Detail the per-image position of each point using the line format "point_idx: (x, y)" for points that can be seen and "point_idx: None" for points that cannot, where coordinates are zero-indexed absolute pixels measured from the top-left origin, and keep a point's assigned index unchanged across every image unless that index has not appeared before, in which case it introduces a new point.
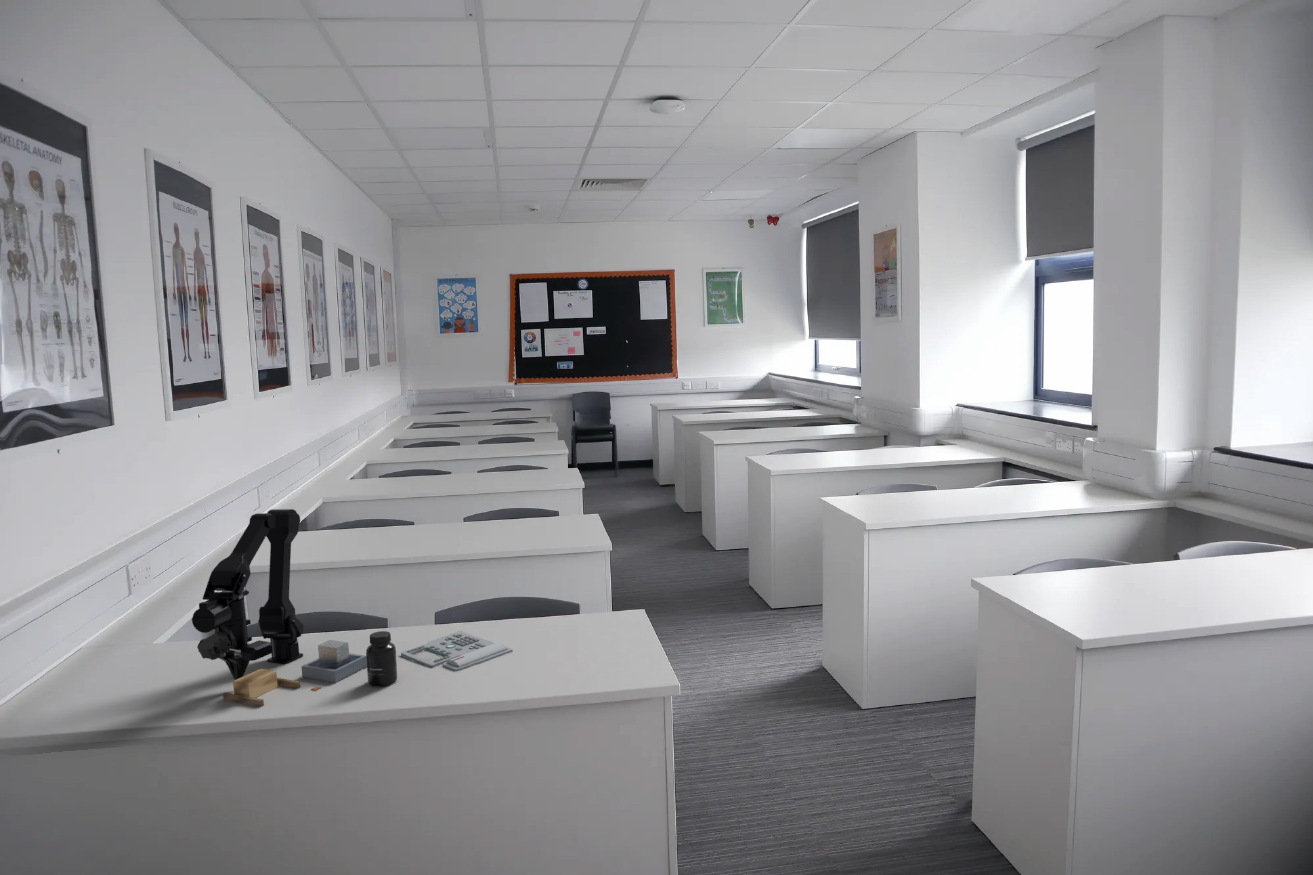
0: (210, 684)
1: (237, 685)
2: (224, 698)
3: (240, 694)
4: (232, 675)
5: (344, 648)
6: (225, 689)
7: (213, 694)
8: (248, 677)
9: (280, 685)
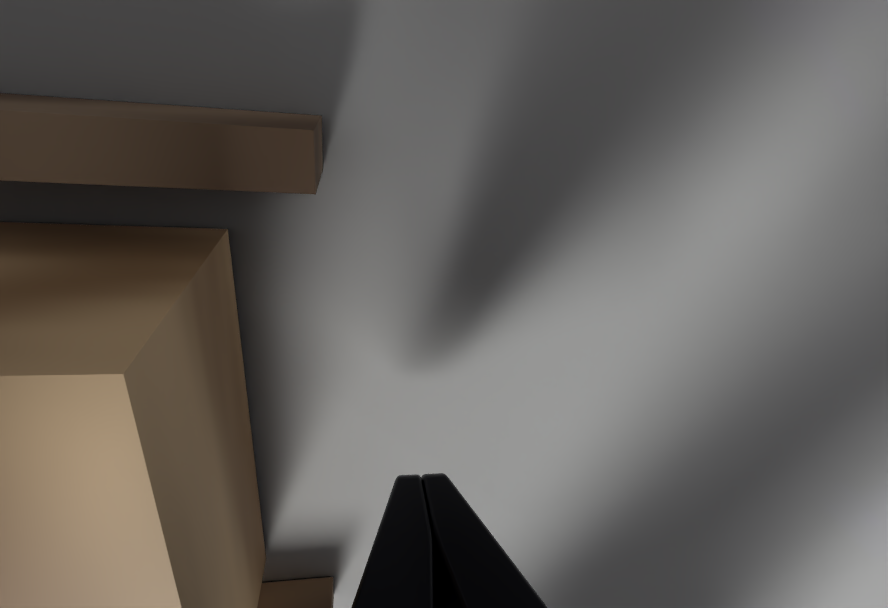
0: (809, 401)
1: (18, 324)
2: (289, 116)
3: (47, 246)
4: (495, 542)
5: None
6: (572, 371)
7: (617, 229)
8: (3, 591)
9: None
